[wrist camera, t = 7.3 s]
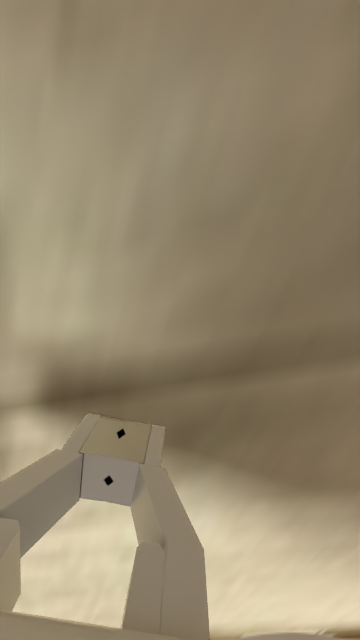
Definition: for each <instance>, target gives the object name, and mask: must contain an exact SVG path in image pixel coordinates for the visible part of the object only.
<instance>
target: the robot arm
mask: <svg viewBox="0 0 360 640" xmlns="http://www.w3.org/2000/svg"><path fill="white" fill-rule="evenodd" d="M151 427H152V428H151ZM164 436H165V426H159V425H152V424H146V423H140V422H134V421H128V420H122V419H118V418H113V417H108V416H103V415H97V414H92V413H88V414H86V415H85V416H84V418H83V419H82V421H81V422H80V423H79V425H78V426H77V428H76V429H75V431H74V432H73V434H72V435H71V437H70V438H69V439H68V441H67V442H66V444H65V445H64V447H63V448H62V450H59V449H56V450H55V451H53V452H51V453H50V454H48V455H46V456H44V457H43V458H41V459H39V460H38V461H36V462H34V463H33V464H31V465H29V466H28V467H26V468H24V469H22V470H21V471H19V472H17V473H16V474H14V475H12V476H11V477H9V478H7V479H6V480H4V481H2V482H0V640H210V634H209V619H208V604H207V589H206V573H205V558H204V549H203V547H202V545H201V543H200V541H199V539H198V536H197V534H196V532H195V530H194V528H193V526H192V524H191V522H190V520H189V518H188V515H187V513H186V511H185V509H184V507H183V505H182V503H181V501H180V499H179V497H178V495H177V492H176V490H175V488H174V486H173V484H172V482H171V480H170V478H169V476H168V474H167V471H166V469H165V468H162V467H161V460H162V452H163V444H164ZM79 498H83V499H91V500H98V501H106V502H110V503H115V504H120V505H125V506H130V507H131V511H132V516H133V521H134V525H135V530H136V534H137V539H138V543H139V546H138V547H137V550H136V555H135V560H134V565H133V570H132V574H131V579H130V584H129V589H128V594H127V599H126V604H125V608H124V614H123V619H122V625H121V628H115V627H108V626H102V625H95V624H89V623H83V622H76V621H70V620H64V619H57V618H51V617H44V616H38V615H32V614H25V613H19V612H13V611H12V610H13V608H14V606H15V603H16V601H17V599H18V597H19V595H20V593H21V577H20V558H21V557H22V556H23V555H24V554H25V553H26V552H27V551H28V550H29V549H30V548H31V547H32V546H33V545H34V544H35V543H36V542H37V541H38V540H39V539H40V538H41V537H42V536H43V535H44V534H45V533H46V532H47V531H48V530H49V529H50V528H51V527H52V526H53V525H54V524H55V523H56V522H57V521H58V520H59V519H60V518H61V517H63V516H64V515H65V514H66V513H67V512H68V511H69V510H70V509H71V508H72V507H73V506H74V505H75V504H76V503H77V502H78V501H79Z"/></svg>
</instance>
